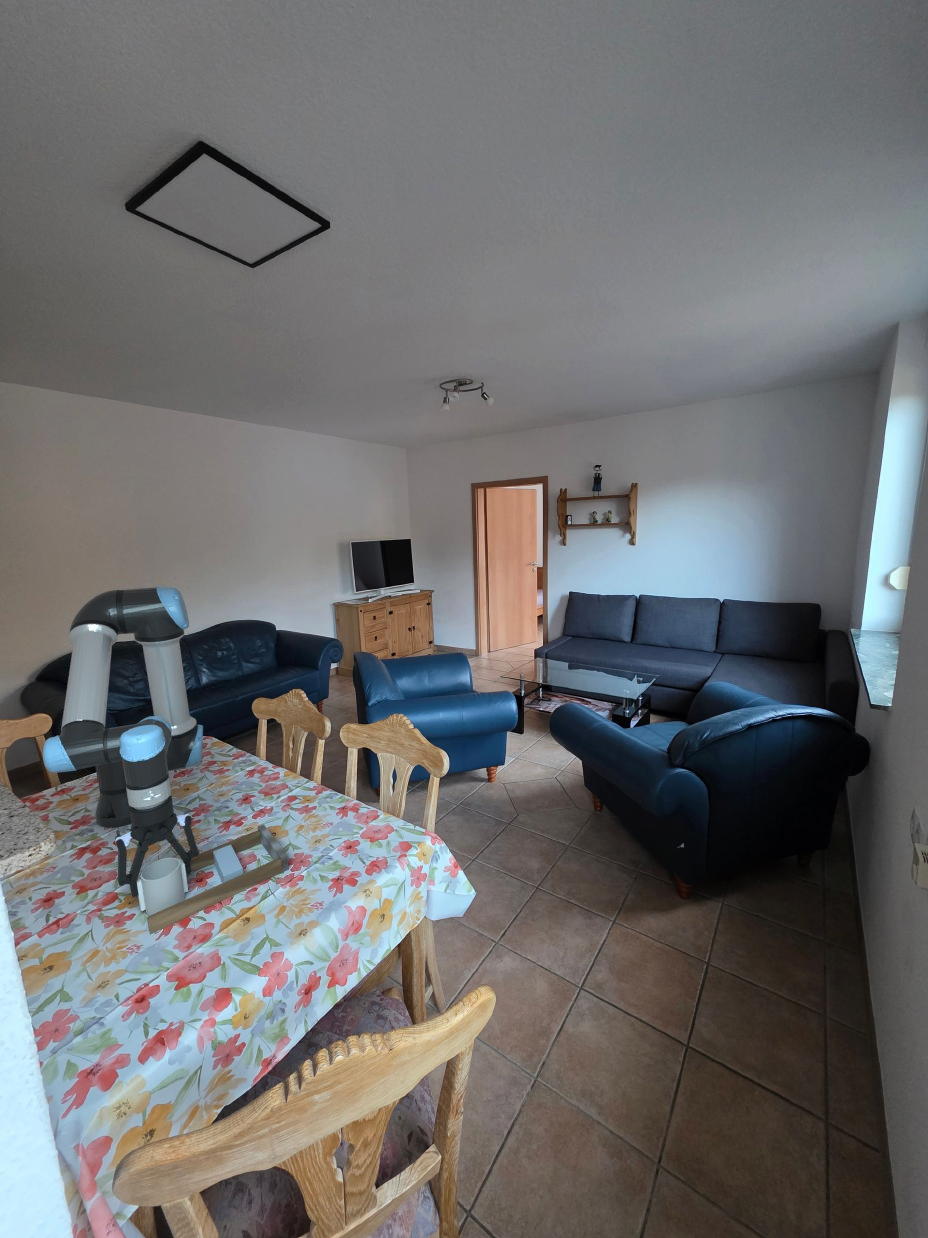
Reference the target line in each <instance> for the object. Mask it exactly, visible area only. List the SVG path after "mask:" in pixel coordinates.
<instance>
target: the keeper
mask: <svg viewBox="0 0 928 1238" xmlns="http://www.w3.org/2000/svg"><path fill="white" fill-rule="evenodd" d="M213 856H214V863H213V864H214V867H215V869H216V872H217V875H218V876H219V879H220V882H221V884H222V883H224V882H226V881H228V880H231V879H233V878H235V877H237V876H239V875H242V874H244V868H243V866H242V864H241V862H240V860H239V858H238V856H237V854H235V852H234V850H233V848H232V846H231V845H228V846H226V847H223V848H220V849H218V850H215V851H213Z"/></svg>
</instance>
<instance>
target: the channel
mask: <svg viewBox="0 0 928 1238" xmlns="http://www.w3.org/2000/svg"><path fill="white" fill-rule="evenodd" d="M228 845H231V846H232V848H233V850H234V852H235V854H236V855H237V854H240V853H241V852H243V851H246V850H248V849H250V848H251V849H252V848H253V847H255V846H258V845H262V847H263V848H264V850H265V851H266V853H267V854H268V855H269V857H271V859H272V860H270V861H269V862H267V863H264V864H261V865H260V866H258V867H256V868H253V869H251V870H249V871H246V872H243V874H242V875H239V876H237V877H235V878H233V879H231V880H228V881H226V882H224V883H222V882H221V883H220V884H217V885H215V886H213V887H211V888H208V889H205V890H204V891H202V892H200V893H197V894H194V895H193V896H191V897H188V898H185V899H184V901H181V902H179V903H177V904H175V905H173V906H170V907H168V908H166V909H164V910H161V911H159V912H157V913H155V914H152V915H150V916H148V915H147V916H146V921H147V928H148V931H149V934H150V935H152V934H154V933H156V932H158V931H161V930H163V929H164V928H167V927H169V926H171V925H173V924H175V923H178V922H179V921H182V920H185V919H187V918H188V917H190V916H192V915H195V914H197V913H199V912H201V911H203V910H205V909H207V908H210V907H212V906H214V905H216V904H218V903H220V902H222V901H225V900H227V899H228V898H231V897H233V896H235V895H237V894H239V893H241V892H244V891H246V890H248V889H250V888H252V887H255V886H256V885H259V884H261V883H262V882H265V881H267V880H270V879H271V878H273V877H276V876H277V875H280V874H282V873H284V872H287V871H288V870H289V860H288V853H287V852H286V850H284V848H283V847H282V846H281V844H280V843H279V842H278V840H277V839H276V838H275V837H274V836H273V834H272V833H271V832H270V830H269V829H268V828H267V827H266V825H265V824H264V823H263V824H261V825H258V826H257V830H255V831H253V832H250V833H248V834H245V835H242V836H240V837H237V838H234V839H233V840H230V841H227V842H226V843H223V844H220V845H217V846H215V847H212V848H210V849H208V850H205V851H202V852H199V855H198V856H196V857H193V858H192V859H191V863H190V865H191V873H193V872H196V871H198V870H202V869H204V868H205V867H208V866H211V865H212V864H214V856H213V851H215V850H218V849H220V848H223V847H226V846H228ZM140 879H141V876H140Z"/></svg>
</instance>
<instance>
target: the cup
mask: <svg viewBox="0 0 928 1238" xmlns="http://www.w3.org/2000/svg"><path fill="white" fill-rule="evenodd" d="M140 877H141V883H142V889H143V896H144V903H145V909H146V910H145V912H146V914H147V917H148V916H150V915H152V914H155V913H157V912H159V911H161V910H164V909H166V908H168V907H170V906H173V905H175V904H177V903H179V902H181V901H184V900H186V897H185V896H186V895H185V893H186V892H185V893H184V886H183V879H182V871H181V864H180V859H179V858H176V857H165V858H160V859H157V860H155V861H153V862H151V863H149V864H148V865H146V866H145V867H144V868H143V870H141V871H140Z"/></svg>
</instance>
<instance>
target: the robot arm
mask: <svg viewBox="0 0 928 1238" xmlns="http://www.w3.org/2000/svg"><path fill="white" fill-rule="evenodd" d="M189 627H190V620H189V615H188V611H187V607H186V603H185V600H184V598H183V594H182V593H181V591H180V590H179V589H178V588H176V587H170V586H169V587H162V586H161V587H160V586H157V587H142V588H130V589H129V588H128V589H113V590H107V591H104V592H102V593H99V594H97V595H96V596H95V595H94V597H93V598H91V599H90V600H88V601H87V602H86V603H85V604H84V605H83V606H82V607H81V608H80V609H79V610H78V612H77V613H76V615H75V616H74V618H73V619H72V623H71V624H70V628H69V634H68V637H69V640H70V642H71V643H72V644H73V645H72V652H71V658H70V665H69V672H68V674H69V675H68V680H67V686H66V687H67V688H66V694H65V700H64V707H63V714H62V721H61V728H60V734H59V735H56V736H53V737H48V738H47V739H46V740H45V742H44V745H43V748H42V759H43V764H44V766H45V768H46V769H47V771H48V772H50V773H52V774H53V773H55V774H56V773H65V772H66V773H67V772H74V771H75V772H76V771H78V770H83V769H86V768H91V767H92V768H93V767H95V772H96V778H97V784H98V788H99V798H98V802H97V806H96V810H95V819H96V820H95V821H96V824H97V825H98V826H100V827H104V828H117V827H123V826H128V825H130V826H131V827H130V829H129V831H128V832H127V833H125V834H123V835H121V834H119V835H116V836H115V837H114V840H115V846H116V848H117V876H116V877H117V883H118V885H119V887H123V886H125V885H129V890H130V893H131V894H130V895H131V897H132V898H136V897H137V898H138V902H139V908H140V911H141V912H143V911H146V909H145V902H144V896H143V889H142V883H141V879H140V877H141V869H142V866H143V863H144V859H145V856H146V853H147V852H148V848H149V847H150V846H152V845H154V844H156V843H160V842H164V841H167V842H168V844H169V845H170V846H171V847H172V848H173V850H174V851H175V852H176V854H177V855H178V856H179V858H180V859H179V860H180V864H181V871H182V879H183V886H184V893H187V892H189V889H188V880H187V879H188V878H187V876H188V875H189V876H190V875H191V873H192V872H191V865H190V863H191V859H192V858H193V857H196V856H198V855H199V854H200V852H199V849H198V845H197V843H196V838H195V836H194V833H193V828H192V820H193V819H192V816H191V814H190V813H189V812H188V811H186V812H184V813H182V814H180V815H177V814H175V810H174V804H173V802H174V801H173V797H172V795H171V794H172V788H171V782H170V773H169V772H171V771H176V770H180V769H187V768H189V767H194V766H197V765H199V764H200V763H201V762H202V758H203V739H204V737H203V736H204V725H202V724H198V723H197V719H196V718H195V717H193V716H191V715H190V710H189V709H190V708H189V703H188V695H187V688H186V687H187V686H186V680H185V675H184V667H183V662H182V661H183V659H182V651H181V645H180V640H181V639H182V638H183V637H184V635H185V630H187V629H188V628H189ZM129 634H133V636H134V641H135V642H136V643H138V644H139V645H142V649H143V655H144V656H143V657H144V663H145V669H146V672H147V673H146V674H147V680H148V686H149V692H150V699H151V704H152V710H153V715H152V716H151V715H150V716H147V717H145V718H143V719H142V720H140V721H139V722H138V723H134V724H129V725H127V724H126V725H123V726H116V727H115V726H114V727H109V728H106V719H107V718H106V717H107V707H108V706H107V705H108V696H109V695H108V694H109V685H110V684H109V683H110V671H111V659H112V649H113V648H112V646H113V645H114V644H115V643H117V641H118V636H119V635H129ZM177 823H179V825H180V826H181V827H183V831H184V836H185V838H186V842H187V844H188V847H189V850H188V851H186V849H185V848H184V847H183V845H182V844H181V842H180V841H179V840H178V839H177V838H176V836H175V835H174V833H173V830H174V829H175V826H176V824H177ZM131 839H133V840H135V841H137V842H138V843H137V847H136V850H135V854H134V856H133V861H132V863H131V867H130V870H129V873H128V874H127V866H128V865H127V861H128V860H127V857H128V856H127V855H128V853H127V852H128V851H127V850H128V849H127V846H128V845H129V844H130V840H131Z"/></svg>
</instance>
